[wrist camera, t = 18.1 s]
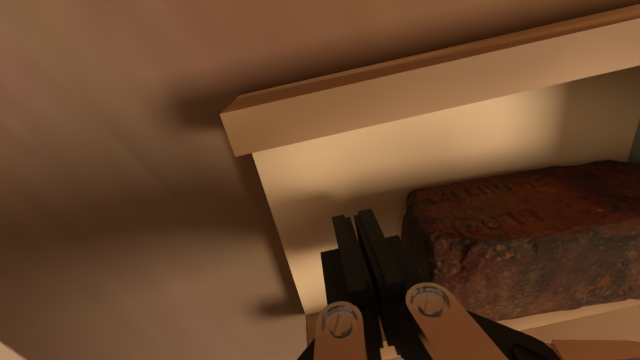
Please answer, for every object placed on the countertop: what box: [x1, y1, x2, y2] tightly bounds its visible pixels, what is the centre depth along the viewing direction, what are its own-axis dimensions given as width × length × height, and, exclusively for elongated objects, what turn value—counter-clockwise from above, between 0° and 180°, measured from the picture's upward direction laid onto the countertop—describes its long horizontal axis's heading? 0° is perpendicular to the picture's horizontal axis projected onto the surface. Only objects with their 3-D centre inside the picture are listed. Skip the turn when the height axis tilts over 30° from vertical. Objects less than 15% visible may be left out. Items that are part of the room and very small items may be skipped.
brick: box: [401, 160, 640, 322], centre depth 12 cm, size 11×4×5 cm, turn 99°
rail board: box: [220, 4, 640, 360], centre depth 11 cm, size 13×18×7 cm
